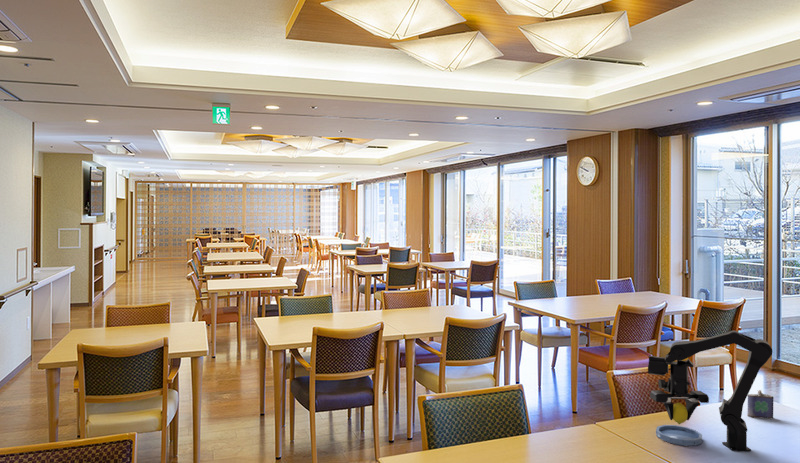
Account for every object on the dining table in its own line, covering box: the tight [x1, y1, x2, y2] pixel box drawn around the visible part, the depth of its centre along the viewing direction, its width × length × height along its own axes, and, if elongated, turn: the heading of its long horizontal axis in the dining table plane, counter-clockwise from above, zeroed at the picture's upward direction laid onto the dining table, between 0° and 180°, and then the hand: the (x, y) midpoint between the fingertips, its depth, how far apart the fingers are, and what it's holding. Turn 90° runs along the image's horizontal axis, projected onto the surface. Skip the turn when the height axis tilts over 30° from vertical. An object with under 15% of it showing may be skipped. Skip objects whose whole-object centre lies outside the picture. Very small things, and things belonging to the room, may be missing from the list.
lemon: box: [672, 401, 688, 425], centre depth 193 cm, size 6×6×8 cm
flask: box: [746, 389, 774, 419], centre depth 215 cm, size 9×3×11 cm, turn 76°
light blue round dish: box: [655, 424, 703, 447], centre depth 193 cm, size 15×15×2 cm
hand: (679, 419), depth 193 cm, fingers closed on lemon, 5 cm apart
